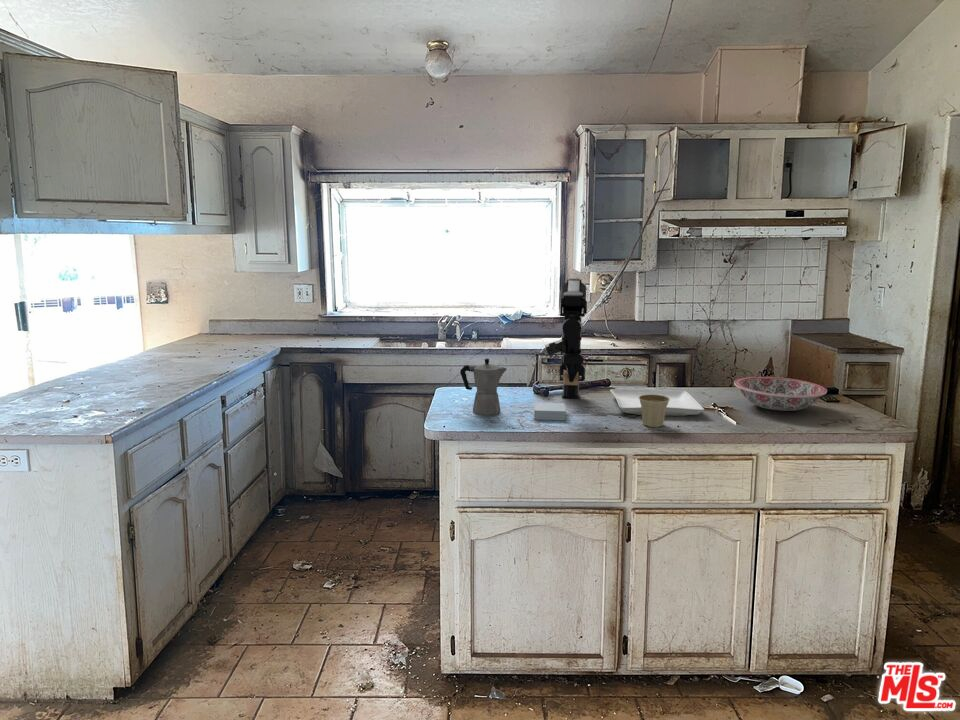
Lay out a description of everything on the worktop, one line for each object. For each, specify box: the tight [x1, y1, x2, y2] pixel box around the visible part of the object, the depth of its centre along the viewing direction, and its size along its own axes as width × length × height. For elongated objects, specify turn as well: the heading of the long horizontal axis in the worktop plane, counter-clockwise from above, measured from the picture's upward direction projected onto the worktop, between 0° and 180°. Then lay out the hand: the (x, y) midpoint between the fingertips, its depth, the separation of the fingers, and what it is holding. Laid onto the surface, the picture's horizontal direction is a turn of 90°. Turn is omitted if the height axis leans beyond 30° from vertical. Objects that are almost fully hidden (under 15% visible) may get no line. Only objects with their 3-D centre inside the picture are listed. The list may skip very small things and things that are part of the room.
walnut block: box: [562, 370, 579, 385], centre depth 223 cm, size 4×4×4 cm
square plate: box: [609, 388, 705, 417], centre depth 236 cm, size 27×27×4 cm
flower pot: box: [639, 394, 670, 428], centre depth 214 cm, size 9×9×9 cm
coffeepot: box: [459, 358, 508, 416], centre depth 228 cm, size 15×9×18 cm, turn 88°
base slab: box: [533, 402, 567, 421], centre depth 224 cm, size 10×10×3 cm
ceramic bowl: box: [734, 376, 828, 412], centre depth 235 cm, size 29×29×8 cm
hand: (570, 380), depth 223 cm, fingers closed on walnut block, 4 cm apart
